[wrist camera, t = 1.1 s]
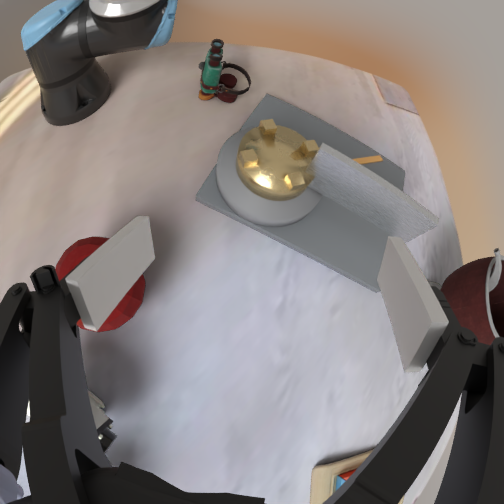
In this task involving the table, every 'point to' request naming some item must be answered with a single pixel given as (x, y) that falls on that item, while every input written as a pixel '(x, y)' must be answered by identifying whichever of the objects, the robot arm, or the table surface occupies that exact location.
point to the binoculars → (214, 80)
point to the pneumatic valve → (99, 422)
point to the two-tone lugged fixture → (325, 179)
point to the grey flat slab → (305, 199)
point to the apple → (128, 302)
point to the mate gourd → (478, 296)
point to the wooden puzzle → (334, 477)
